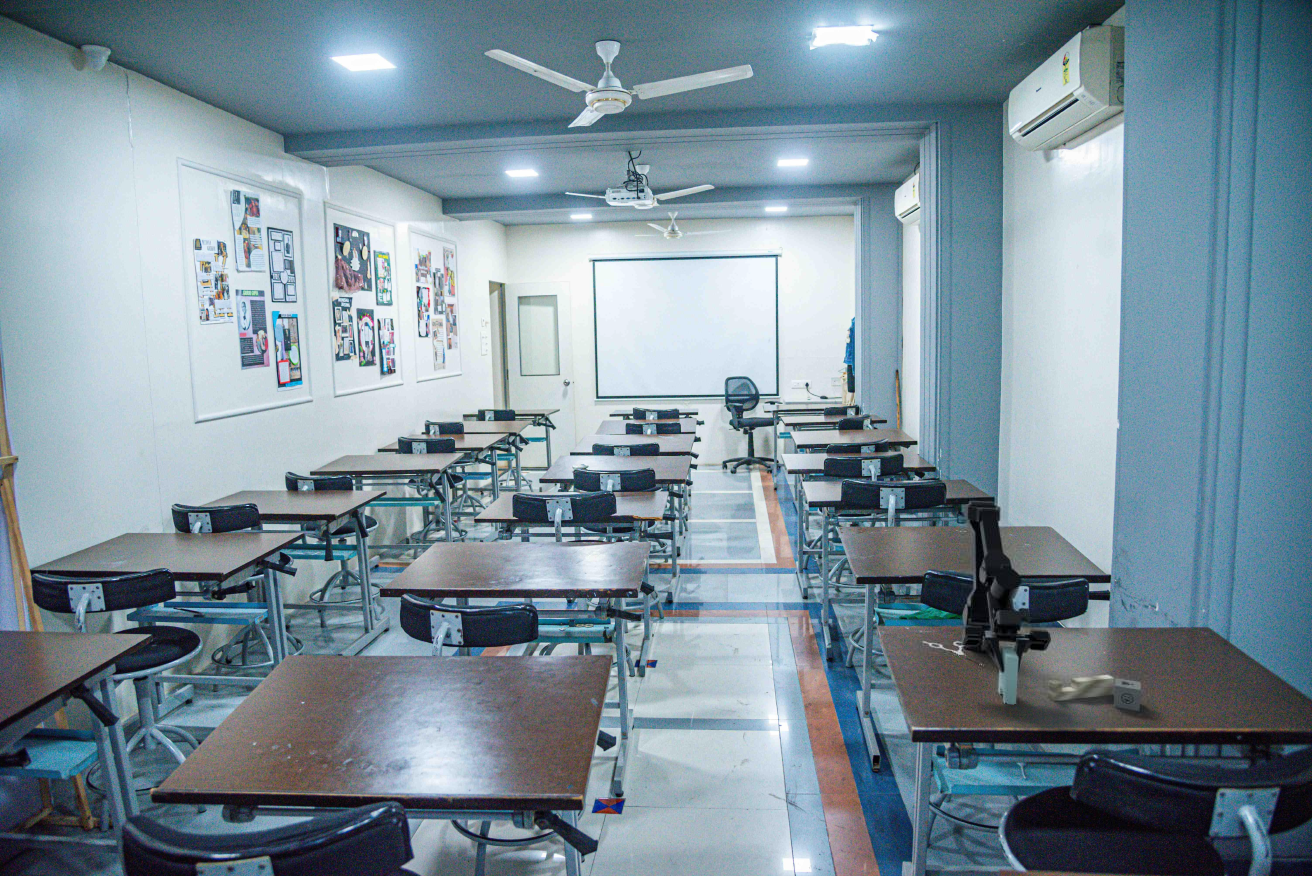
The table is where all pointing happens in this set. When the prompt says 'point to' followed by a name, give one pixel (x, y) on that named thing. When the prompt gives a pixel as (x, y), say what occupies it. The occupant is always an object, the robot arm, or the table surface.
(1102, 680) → the cream stepped bar
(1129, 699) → the grey cube
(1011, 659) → the notched plate
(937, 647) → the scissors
